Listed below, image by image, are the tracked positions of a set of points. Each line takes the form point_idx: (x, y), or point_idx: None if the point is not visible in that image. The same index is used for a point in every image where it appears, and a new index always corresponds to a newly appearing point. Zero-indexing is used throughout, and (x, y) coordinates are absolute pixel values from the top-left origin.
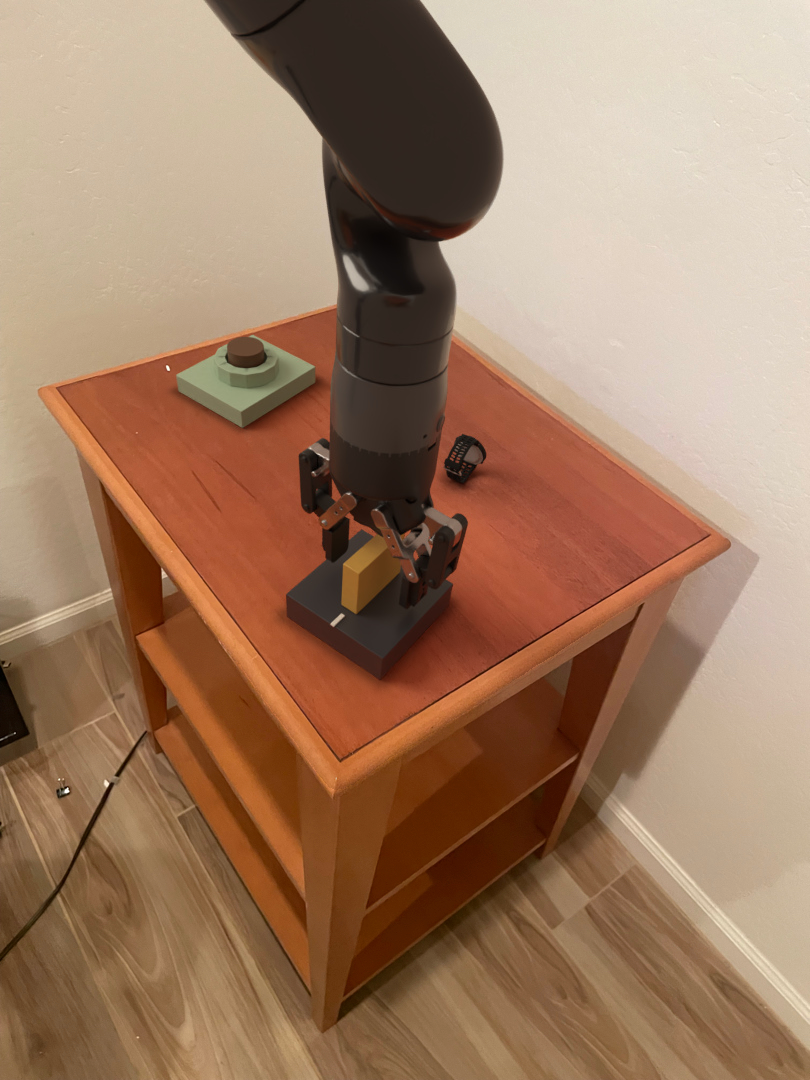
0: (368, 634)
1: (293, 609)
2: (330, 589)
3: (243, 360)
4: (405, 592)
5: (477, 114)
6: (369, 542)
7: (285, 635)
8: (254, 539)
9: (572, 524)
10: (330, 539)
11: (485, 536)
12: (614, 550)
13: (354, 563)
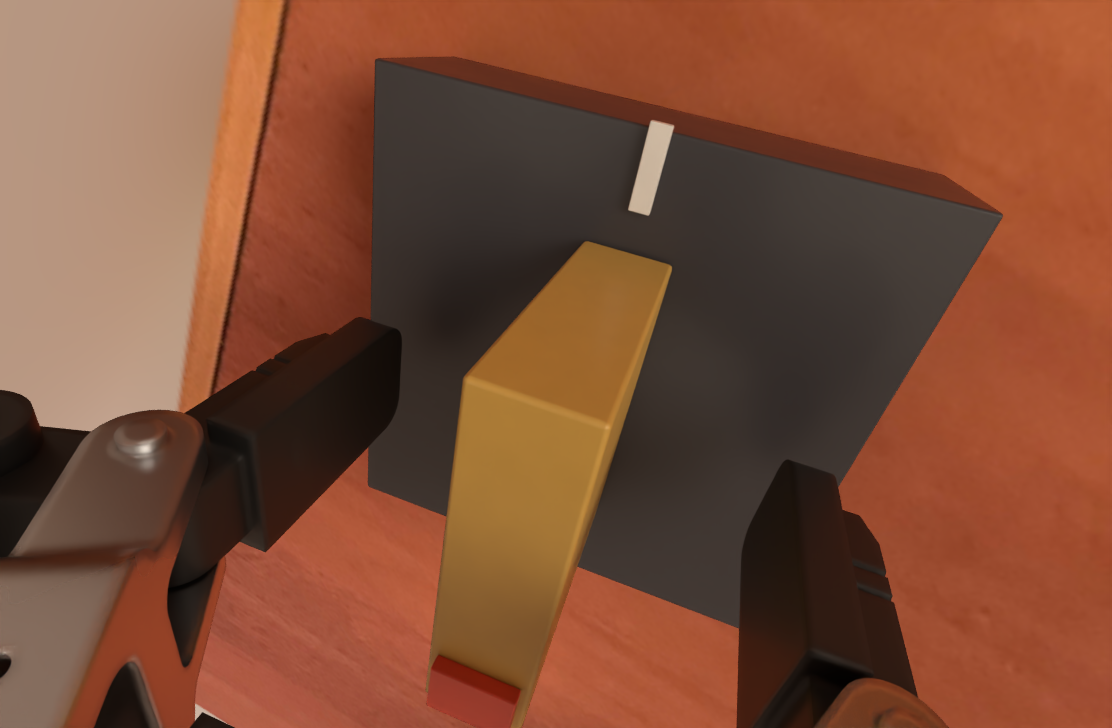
0: (488, 158)
1: (922, 181)
2: (759, 331)
3: None
4: (302, 369)
5: None
6: (540, 617)
7: (917, 71)
8: None
9: (328, 678)
10: (817, 597)
11: None
12: (238, 632)
13: (535, 450)
